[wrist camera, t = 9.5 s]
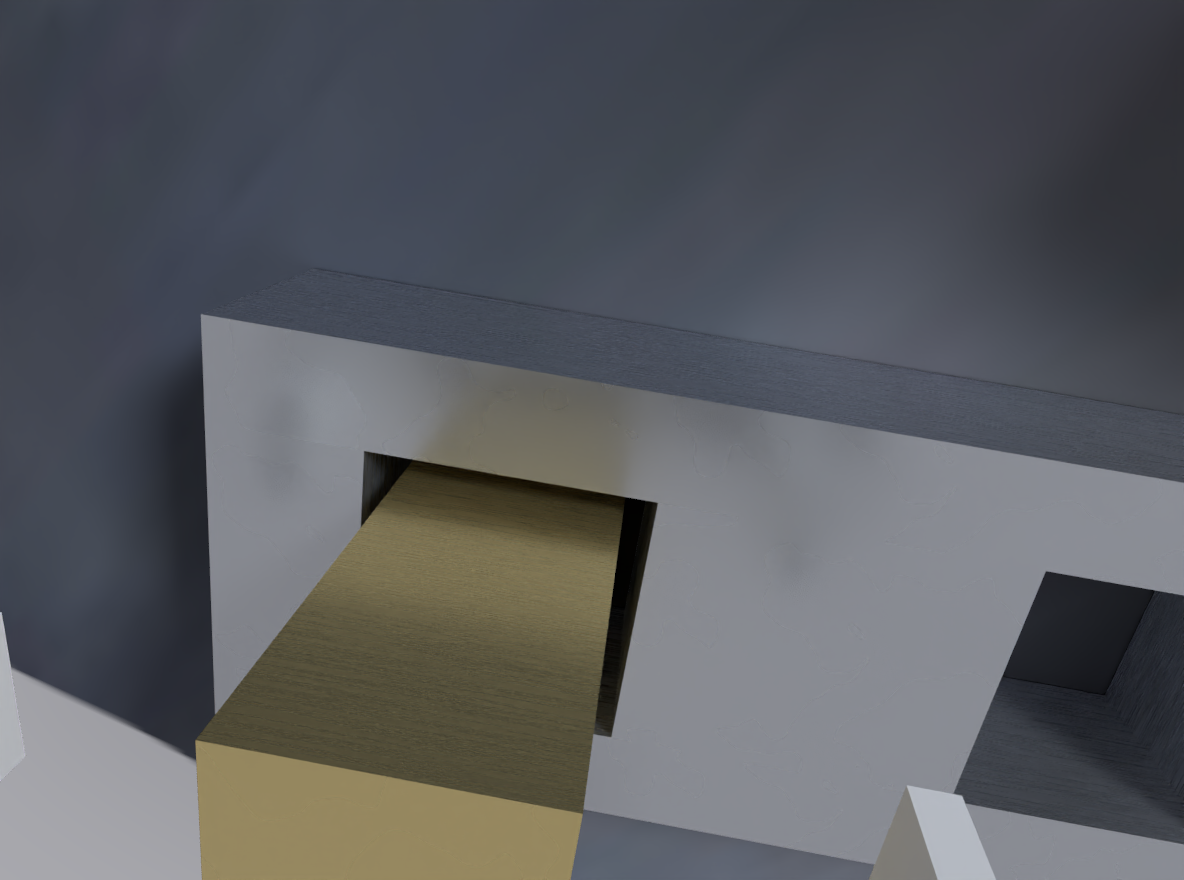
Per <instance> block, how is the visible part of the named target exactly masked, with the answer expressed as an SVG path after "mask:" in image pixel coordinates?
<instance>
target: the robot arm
mask: <svg viewBox="0 0 1184 880" xmlns="http://www.w3.org/2000/svg"><path fill="white" fill-rule="evenodd" d="M25 756H26V755H25V749H24V743H23V737H22V731H21V725H20V719H19V713H18V707H17V701H16V696H15V689H14V683H13V678H12V672H11V665H10V659H9V654H8V648H7V642H6V636H5V630H4V624H3V618H2V612H0V781H1V780H2V779H3V778H4V777H5V776H6V775H7V774H8V773H9V772H10V771H11V770H12V769H13V768H14V767H15V766H16V765H17V764H19V762H21V760H23V759H24V758H25ZM869 880H996V878H995V876H994V873H993V871H992V869H991V866H990V864H989V861H988V859H987V856H986V854H985V851H984V849H983V846H982V844H981V841H980V839H979V836H978V834H977V831H976V829H975V827H974V824H973V822H972V819H971V817H970V814H969V812H968V809H967V807H966V804H965V802H964V799H963V797H962V796H961V795H955V794H950V793H945V792H940V791H934V790H929V789H924V788H919V787H914V786H908V785H906V788H905V790H904V793H903V795H902V798H901V800H900V803H899V805H898V808H897V811H896V813H895V816H894V818H893V821H892V823H891V826H890V828H889V831H888V833H887V836H886V838H885V841H884V843H883V846H882V848H881V851H880V853H879V856H878V858H877V861H876V863H875V866H874V868H873V871H872V873H871V876H870V878H869Z"/></svg>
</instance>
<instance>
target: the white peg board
mask: <svg viewBox="0 0 1184 880" xmlns="http://www.w3.org/2000/svg"><path fill="white" fill-rule="evenodd" d="M201 329H202V357H203V386H204V414H205V442H206V471H207V499H208V527H209V556H210V584H211V612H212V641H213V669H214V697H215V714H216V713H217V712H218V711H219V709H220V708H221V707H222V705H223V704H224V703H225V702H226V700H227V699H228V698H229V696H230V695H231V694H232V693H233V691H234V690H235V689H236V687H237V686H238V685H239V684H240V682H241V681H242V680H243V678H244V677H245V676H246V675H247V673H248V672H249V671H250V669H251V668H252V667H253V666H254V664H255V663H256V662H257V660H258V659H259V658H260V657H261V655H262V654H263V653H264V651H265V650H266V649H267V648H268V646H269V645H270V644H271V642H272V641H273V640H274V639H275V637H276V636H277V635H278V633H279V632H280V631H281V630H282V628H283V627H284V626H285V624H286V623H287V622H288V621H289V619H290V618H291V617H292V615H293V614H294V613H295V612H296V610H297V609H298V608H299V606H300V605H301V604H302V603H303V601H304V600H305V599H306V597H307V596H308V595H309V594H310V592H311V591H312V590H313V588H314V587H315V586H316V585H317V583H318V582H319V581H320V579H321V578H322V577H323V576H324V574H325V573H326V572H327V570H328V569H329V568H330V567H331V565H332V564H333V563H334V561H335V560H336V559H337V558H338V556H339V555H340V554H341V552H342V551H343V550H344V549H345V547H346V546H347V545H348V543H349V542H350V541H351V540H352V538H353V537H354V536H355V534H356V533H357V532H358V531H359V529H360V528H361V527H362V525H363V524H364V523H365V522H366V520H367V519H368V518H369V516H370V515H371V514H372V513H373V511H374V510H375V509H376V507H377V506H378V505H379V504H380V502H381V501H382V500H383V498H384V497H385V496H386V495H387V493H388V492H389V491H390V489H391V488H392V487H393V486H394V484H395V483H396V482H397V480H398V479H399V478H400V477H401V475H402V474H403V473H404V471H405V470H406V469H407V468H408V466H409V465H410V464H411V462H412V461H413V460H418V461H424V462H430V463H435V464H441V465H447V466H452V467H458V468H464V469H469V470H475V471H481V472H486V473H492V474H498V475H503V476H509V477H515V478H520V479H526V480H532V481H537V482H543V483H549V484H555V485H560V486H566V487H572V488H577V489H583V490H589V491H594V492H600V493H606V494H611V495H617V496H623V497H628V498H634V499H640V500H645V506H644V511H643V517H642V522H641V527H640V532H639V537H638V543H637V548H636V553H635V558H634V563H633V569H632V574H631V579H630V584H629V589H628V594H627V600H626V605H625V608H620V607H614V606H611V607H610V615H609V622H608V630H607V637H606V645H605V652H604V660H603V667H602V674H601V682H600V689H599V697H598V704H597V712H596V719H595V727H594V734H593V741H592V749H591V756H590V764H589V771H588V779H587V786H586V794H585V801H584V808H583V809H584V810H590V811H595V812H600V813H606V814H611V815H616V816H621V817H627V818H632V819H637V820H642V821H648V822H653V823H658V824H663V825H669V826H674V827H679V828H684V829H690V830H695V831H700V832H705V833H711V834H716V835H721V836H726V837H732V838H737V839H742V840H748V841H753V842H758V843H763V844H769V845H774V846H779V847H784V848H790V849H795V850H800V851H805V852H811V853H816V854H821V855H826V856H832V857H837V858H842V859H847V860H853V861H858V862H863V863H869V864H874V865H875V863H876V861H877V858H878V856H879V853H880V851H881V848H882V846H883V843H884V841H885V838H886V836H887V833H888V831H889V828H890V826H891V823H892V821H893V818H894V816H895V813H896V811H897V808H898V805H899V803H900V800H901V798H902V795H903V793H904V790H905V788H906V785H908V786H914V787H919V788H924V789H929V790H934V791H940V792H945V793H950V794H955V795H961V796H962V797H963V799H964V802H965V804H966V807H967V809H968V812H969V814H970V817H971V819H972V822H973V824H974V827H975V829H976V831H977V834H978V836H979V839H980V841H981V844H982V846H983V849H984V851H985V854H986V856H987V859H988V861H989V864H990V866H991V869H992V871H993V873H994V876H995V878H996V880H1184V415H1179V414H1173V413H1167V412H1161V411H1156V410H1150V409H1144V408H1138V407H1132V406H1126V405H1120V404H1114V403H1108V402H1102V401H1096V400H1090V399H1084V398H1079V397H1073V396H1067V395H1061V394H1055V393H1049V392H1043V391H1037V390H1031V389H1025V388H1019V387H1013V386H1007V385H1001V384H996V383H990V382H984V381H978V380H972V379H966V378H960V377H954V376H948V375H942V374H936V373H930V372H924V371H918V370H913V369H907V368H901V367H895V366H889V365H883V364H877V363H871V362H865V361H859V360H853V359H847V358H841V357H835V356H830V355H824V354H818V353H812V352H806V351H800V350H794V349H788V348H782V347H776V346H770V345H764V344H758V343H752V342H747V341H741V340H735V339H729V338H723V337H717V336H711V335H705V334H699V333H693V332H687V331H681V330H675V329H669V328H664V327H658V326H652V325H646V324H640V323H634V322H628V321H622V320H616V319H610V318H604V317H598V316H592V315H587V314H581V313H575V312H569V311H563V310H557V309H551V308H545V307H539V306H533V305H527V304H521V303H515V302H509V301H504V300H498V299H492V298H486V297H480V296H474V295H468V294H462V293H456V292H450V291H444V290H438V289H432V288H426V287H421V286H415V285H409V284H403V283H397V282H391V281H385V280H379V279H373V278H367V277H361V276H355V275H349V274H343V273H338V272H332V271H326V270H320V269H312V270H309V271H307V272H304V273H302V274H299V275H297V276H294V277H292V278H289V279H287V280H285V281H282V282H280V283H277V284H275V285H272V286H270V287H267V288H265V289H262V290H260V291H257V292H255V293H252V294H250V295H247V296H245V297H242V298H240V299H237V300H235V301H232V302H230V303H228V304H225V305H223V306H220V307H218V308H215V309H213V310H210V311H208V312H205V313H203V314H201ZM1046 571H1048V572H1054V573H1059V574H1065V575H1071V576H1076V577H1082V578H1088V579H1093V580H1099V581H1105V582H1110V583H1116V584H1122V585H1127V586H1133V587H1139V588H1144V589H1150V590H1155V592H1154V594H1153V596H1152V598H1151V600H1150V602H1149V604H1148V606H1147V609H1146V611H1145V613H1144V615H1143V617H1142V619H1141V621H1140V623H1139V625H1138V627H1137V629H1136V631H1135V634H1134V636H1133V638H1132V640H1131V642H1130V644H1129V646H1128V648H1127V650H1126V652H1125V654H1124V656H1123V658H1122V661H1121V663H1120V665H1119V667H1118V669H1117V671H1116V673H1115V675H1114V677H1113V679H1112V681H1111V683H1110V686H1109V688H1108V690H1107V692H1106V694H1105V695H1100V694H1095V693H1089V692H1084V691H1078V690H1073V689H1067V688H1062V687H1056V686H1051V685H1045V684H1040V683H1034V682H1029V681H1023V680H1017V679H1012V678H1006V677H1002V675H1003V673H1004V671H1005V668H1006V666H1007V663H1008V661H1009V659H1010V656H1011V654H1012V651H1013V649H1014V647H1015V644H1016V642H1017V639H1018V637H1019V635H1020V632H1021V630H1022V627H1023V625H1024V623H1025V620H1026V618H1027V615H1028V613H1029V611H1030V608H1031V606H1032V603H1033V601H1034V599H1035V596H1036V594H1037V591H1038V589H1039V587H1040V584H1041V582H1042V579H1043V577H1044V575H1045V572H1046Z"/></svg>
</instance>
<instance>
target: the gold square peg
mask: <svg viewBox="0 0 1184 880" xmlns="http://www.w3.org/2000/svg"><path fill="white" fill-rule="evenodd" d="M624 503H625V497H623V496H617V495H611V494H606V493H600V492H594V491H589V490H583V489H577V488H572V487H566V486H560V485H555V484H549V483H543V482H537V481H532V480H526V479H520V478H515V477H509V476H503V475H498V474H492V473H486V472H481V471H475V470H469V469H464V468H458V467H452V466H447V465H441V464H435V463H430V462H424V461H418V460H413V461H412V462H411V464H410V465H409V466H408V468H407V469H406V470H405V471H404V473H403V474H402V475H401V477H400V478H399V479H398V480H397V482H396V483H395V484H394V486H393V487H392V488H391V489H390V491H389V492H388V493H387V495H386V496H385V497H384V498H383V500H382V501H381V502H380V504H379V505H378V506H377V507H376V509H375V510H374V511H373V513H372V514H371V515H370V516H369V518H368V519H367V520H366V522H365V523H364V524H363V525H362V527H361V528H360V529H359V531H358V532H357V533H356V534H355V536H354V537H353V538H352V540H351V541H350V542H349V543H348V545H347V546H346V547H345V549H344V550H343V551H342V552H341V554H340V555H339V556H338V558H337V559H336V560H335V561H334V563H333V564H332V565H331V567H330V568H329V569H328V570H327V572H326V573H325V574H324V576H323V577H322V578H321V579H320V581H319V582H318V583H317V585H316V586H315V587H314V588H313V590H312V591H311V592H310V594H309V595H308V596H307V597H306V599H305V600H304V601H303V603H302V604H301V605H300V606H299V608H298V609H297V610H296V612H295V613H294V614H293V615H292V617H291V618H290V619H289V621H288V622H287V623H286V624H285V626H284V627H283V628H282V630H281V631H280V632H279V633H278V635H277V636H276V637H275V639H274V640H273V641H272V642H271V644H270V645H269V646H268V648H267V649H266V650H265V651H264V653H263V654H262V655H261V657H260V658H259V659H258V660H257V662H256V663H255V664H254V666H253V667H252V668H251V669H250V671H249V672H248V673H247V675H246V676H245V677H244V678H243V680H242V681H241V682H240V684H239V685H238V686H237V687H236V689H235V690H234V691H233V693H232V694H231V695H230V696H229V698H228V699H227V700H226V702H225V703H224V704H223V705H222V707H221V708H220V709H219V711H218V712H217V713H216V714H215V716H214V717H213V718H212V720H211V721H210V722H209V723H208V725H207V726H206V727H205V729H204V730H203V731H202V732H201V734H200V735H199V736H198V738H197V739H196V740H195V742H196V763H197V783H198V803H199V825H200V847H201V865H202V866H201V868H202V880H570V878H571V873H572V868H573V862H574V857H575V852H576V847H577V841H578V836H579V831H580V826H581V820H582V815H583V808H584V801H585V794H586V786H587V779H588V771H589V764H590V756H591V749H592V741H593V734H594V727H595V719H596V712H597V704H598V697H599V689H600V682H601V674H602V667H603V660H604V652H605V645H606V637H607V630H608V622H609V615H610V607H611V600H612V593H613V585H614V578H615V570H616V563H617V555H618V548H619V540H620V533H621V526H622V518H623V511H624Z"/></svg>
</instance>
